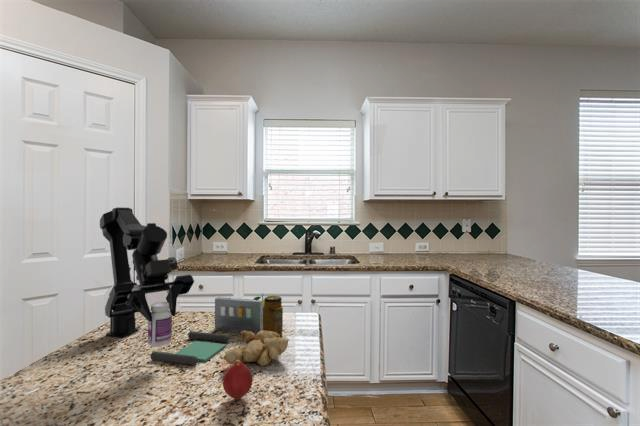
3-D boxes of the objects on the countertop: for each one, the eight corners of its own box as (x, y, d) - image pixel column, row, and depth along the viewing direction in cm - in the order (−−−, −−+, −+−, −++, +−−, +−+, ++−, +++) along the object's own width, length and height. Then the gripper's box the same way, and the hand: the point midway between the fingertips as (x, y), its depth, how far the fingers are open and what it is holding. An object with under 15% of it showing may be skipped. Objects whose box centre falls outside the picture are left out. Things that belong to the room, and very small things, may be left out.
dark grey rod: (188, 339, 97) (188, 332, 97) (192, 336, 99) (192, 330, 99) (227, 343, 94) (227, 336, 94) (230, 341, 95) (230, 334, 96)
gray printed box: (213, 330, 104) (213, 299, 104) (218, 327, 107) (218, 297, 107) (258, 335, 100) (258, 302, 100) (262, 331, 103) (262, 300, 103)
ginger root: (293, 340, 93) (291, 315, 91) (286, 381, 77) (284, 351, 76) (239, 341, 93) (237, 316, 92) (222, 382, 78) (218, 353, 76)
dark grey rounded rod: (150, 360, 82) (150, 352, 82) (156, 357, 84) (156, 349, 84) (194, 366, 79) (195, 358, 79) (199, 363, 81) (199, 355, 81)
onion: (226, 392, 68) (226, 353, 68) (253, 390, 68) (254, 353, 68) (219, 408, 62) (220, 366, 62) (250, 407, 62) (250, 365, 63)
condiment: (279, 331, 104) (280, 293, 104) (289, 340, 96) (289, 300, 96) (257, 334, 101) (257, 296, 101) (265, 344, 93) (265, 302, 93)
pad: (171, 357, 84) (171, 355, 84) (195, 343, 94) (195, 341, 94) (205, 362, 82) (205, 359, 82) (226, 346, 91) (226, 344, 91)
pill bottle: (175, 338, 83) (175, 301, 83) (166, 347, 77) (167, 307, 77) (153, 338, 82) (154, 300, 82) (143, 347, 77) (144, 306, 77)
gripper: (113, 249, 75) (127, 307, 68) (191, 245, 89) (210, 292, 81) (104, 278, 81) (116, 334, 73) (179, 269, 94) (195, 316, 87)
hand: (162, 317), depth 79 cm, fingers closed on pill bottle, 5 cm apart
